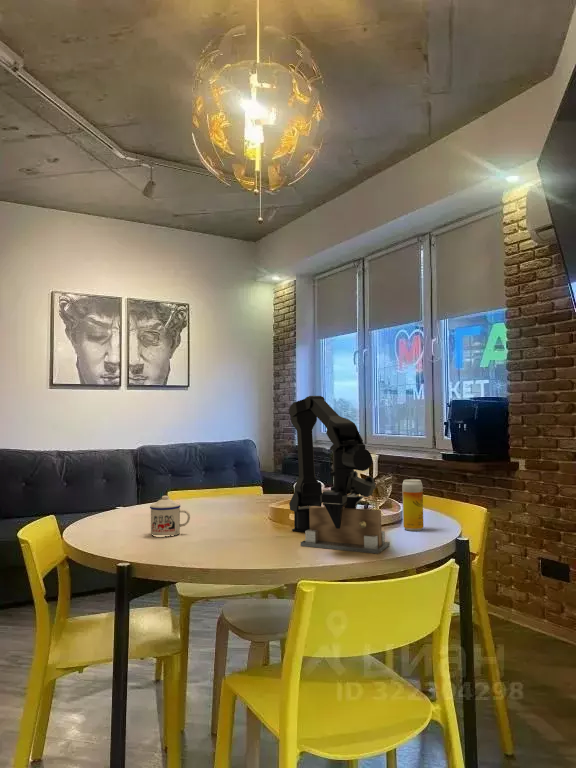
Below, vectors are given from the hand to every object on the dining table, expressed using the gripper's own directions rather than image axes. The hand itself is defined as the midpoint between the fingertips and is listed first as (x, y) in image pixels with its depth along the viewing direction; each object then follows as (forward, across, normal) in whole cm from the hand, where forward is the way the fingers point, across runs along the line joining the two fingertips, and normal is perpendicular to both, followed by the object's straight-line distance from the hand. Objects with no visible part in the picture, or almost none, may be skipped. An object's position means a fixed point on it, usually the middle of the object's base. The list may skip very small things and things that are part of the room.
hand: (344, 525), depth 161 cm
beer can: (+6, +29, -11) cm, 32 cm away
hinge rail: (+6, 0, 0) cm, 6 cm away
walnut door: (+4, 0, 0) cm, 4 cm away
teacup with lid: (+6, -7, +54) cm, 55 cm away
